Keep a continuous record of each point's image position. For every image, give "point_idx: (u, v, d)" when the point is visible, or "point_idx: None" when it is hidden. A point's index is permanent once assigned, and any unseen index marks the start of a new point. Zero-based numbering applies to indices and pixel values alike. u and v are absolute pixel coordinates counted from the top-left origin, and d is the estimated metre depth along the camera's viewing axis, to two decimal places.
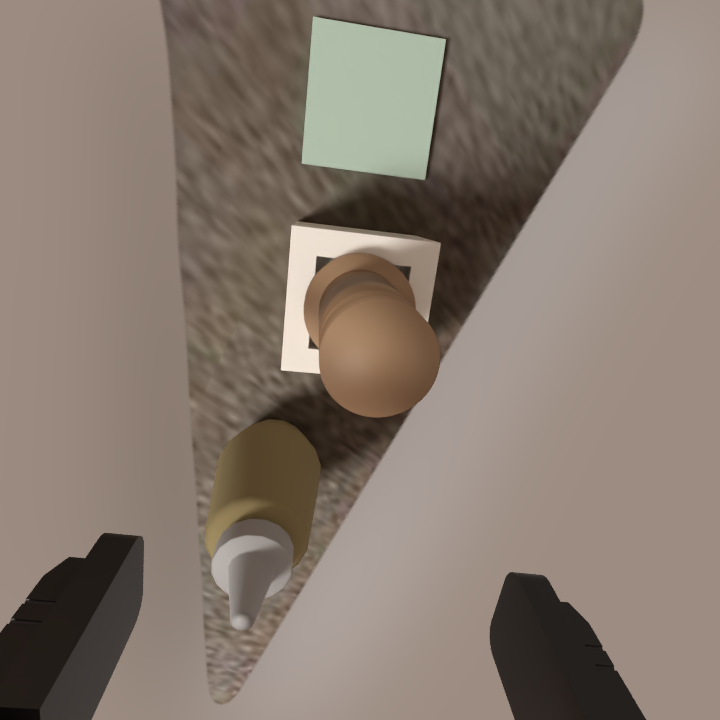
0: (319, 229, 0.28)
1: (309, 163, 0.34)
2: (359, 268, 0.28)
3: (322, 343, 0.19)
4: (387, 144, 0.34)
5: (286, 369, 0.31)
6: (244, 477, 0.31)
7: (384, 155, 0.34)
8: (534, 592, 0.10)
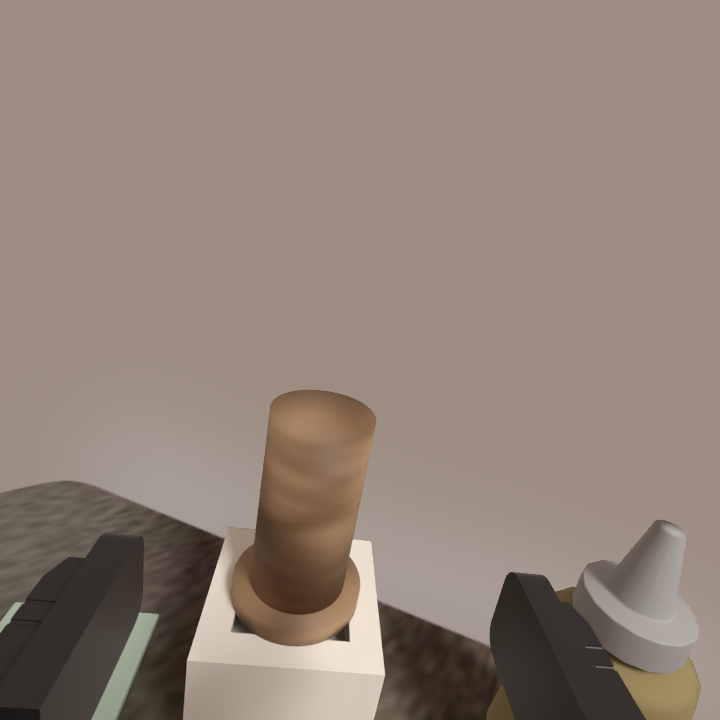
0: (198, 629, 0.23)
1: None
2: (248, 576, 0.25)
3: (310, 436, 0.20)
4: None
5: (382, 668, 0.23)
6: None
7: None
8: (534, 592, 0.10)
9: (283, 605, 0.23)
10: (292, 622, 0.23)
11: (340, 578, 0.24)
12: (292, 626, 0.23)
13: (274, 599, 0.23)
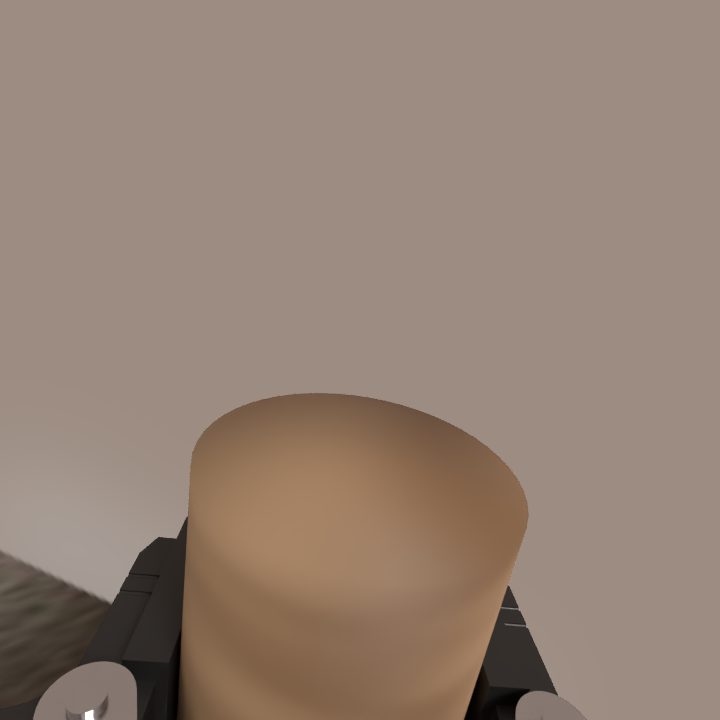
0: None
1: None
2: None
3: (325, 579, 0.05)
4: None
5: None
6: None
7: None
8: None
9: None
10: None
11: None
12: None
13: None
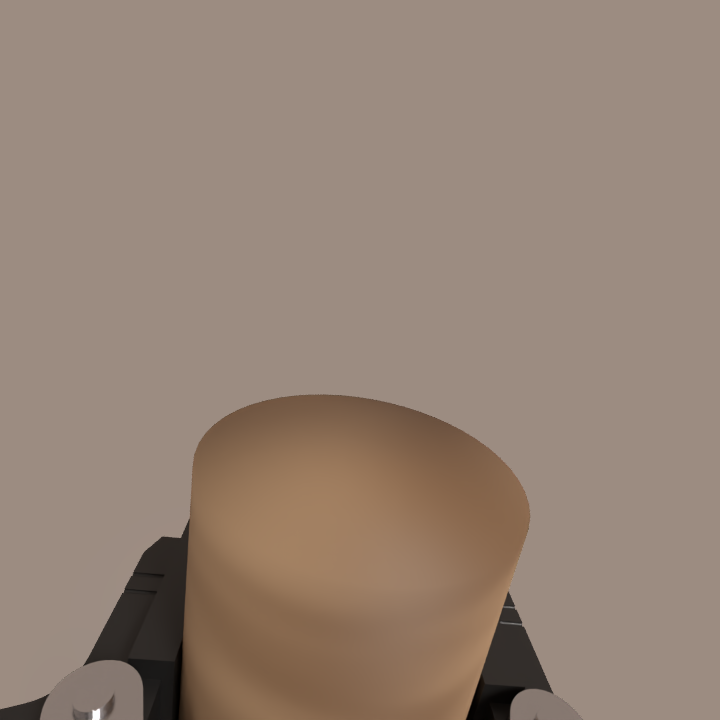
0: None
1: None
2: None
3: (327, 582, 0.05)
4: None
5: None
6: None
7: None
8: None
9: None
10: None
11: None
12: None
13: None
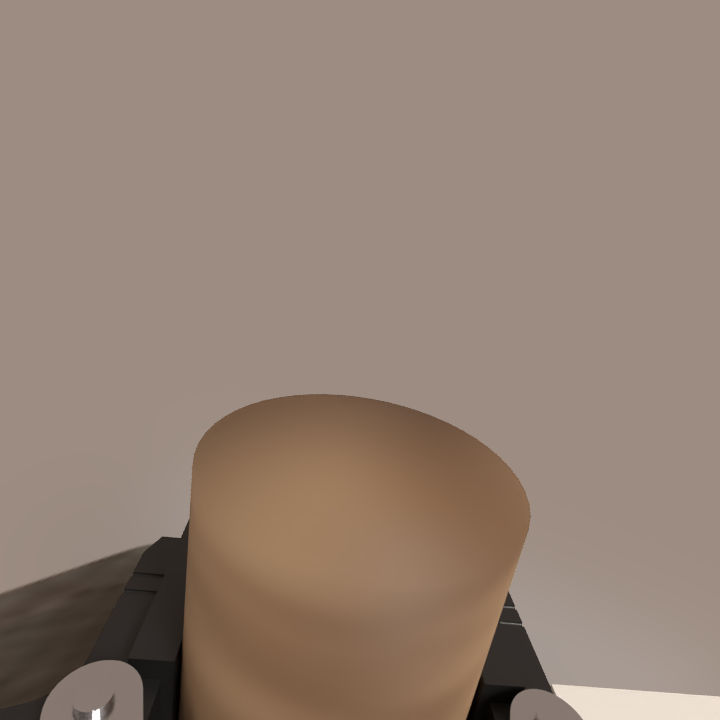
0: None
1: None
2: None
3: (328, 581, 0.05)
4: None
5: None
6: None
7: None
8: None
9: None
10: None
11: None
12: None
13: None
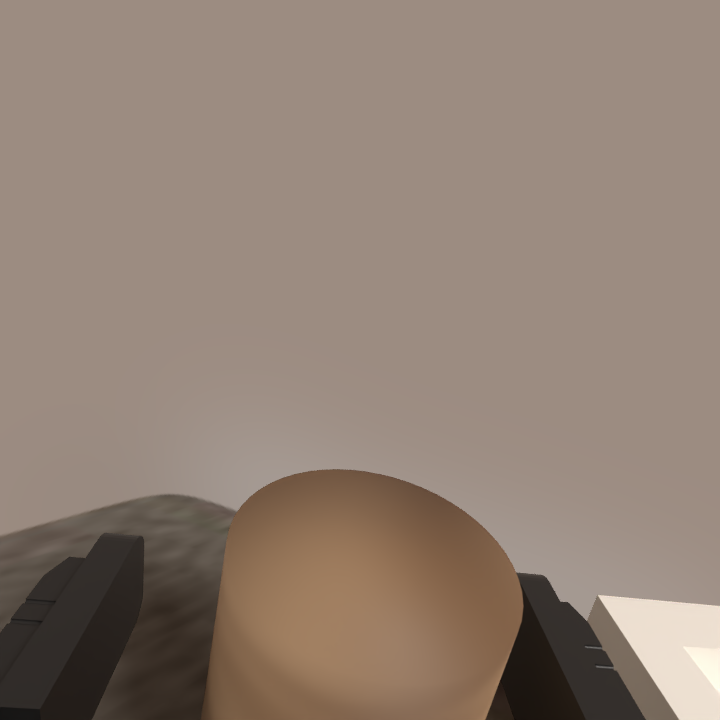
0: None
1: None
2: None
3: (352, 678, 0.06)
4: None
5: None
6: None
7: None
8: (534, 592, 0.10)
9: None
10: None
11: None
12: None
13: None
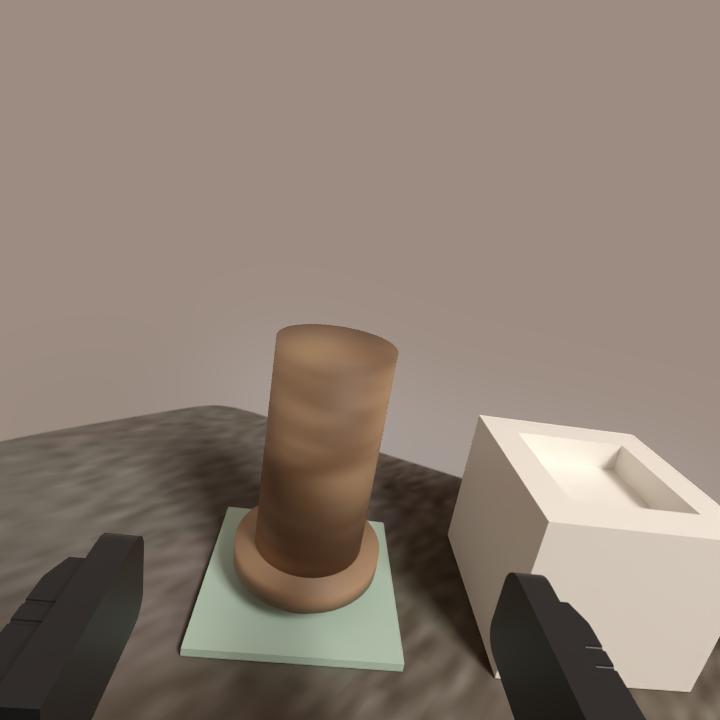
0: (532, 496, 0.19)
1: (401, 653, 0.20)
2: (253, 538, 0.22)
3: (325, 361, 0.17)
4: None
5: None
6: None
7: None
8: (534, 592, 0.10)
9: (294, 567, 0.20)
10: (304, 586, 0.20)
11: (358, 537, 0.21)
12: (305, 590, 0.20)
13: (283, 560, 0.20)
